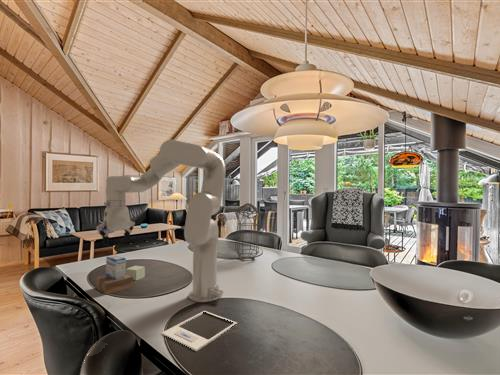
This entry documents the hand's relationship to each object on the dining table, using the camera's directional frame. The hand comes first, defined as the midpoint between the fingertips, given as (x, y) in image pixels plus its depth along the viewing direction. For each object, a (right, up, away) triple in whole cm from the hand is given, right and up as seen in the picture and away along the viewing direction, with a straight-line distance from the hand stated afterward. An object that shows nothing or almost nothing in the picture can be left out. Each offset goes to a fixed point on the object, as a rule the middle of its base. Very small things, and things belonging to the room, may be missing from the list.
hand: (116, 243), depth 118 cm
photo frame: (+43, -20, -34) cm, 58 cm away
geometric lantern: (+57, -20, +52) cm, 79 cm away
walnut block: (-1, -20, 0) cm, 20 cm away
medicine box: (-1, -15, 0) cm, 15 cm away
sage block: (+3, -20, +13) cm, 24 cm away
